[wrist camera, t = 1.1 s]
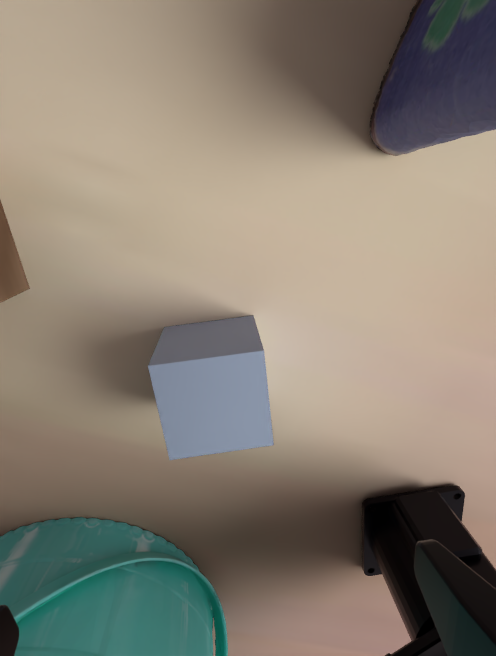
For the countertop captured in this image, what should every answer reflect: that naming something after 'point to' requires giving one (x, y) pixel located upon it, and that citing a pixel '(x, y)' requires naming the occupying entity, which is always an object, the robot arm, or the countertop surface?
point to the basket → (106, 592)
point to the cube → (211, 387)
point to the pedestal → (9, 263)
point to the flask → (439, 77)
